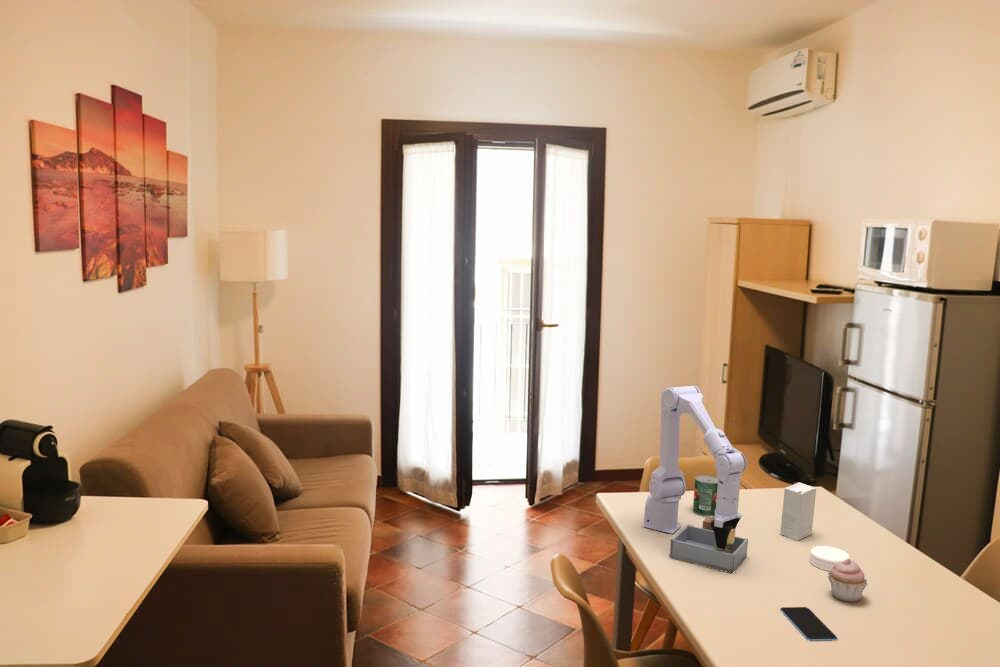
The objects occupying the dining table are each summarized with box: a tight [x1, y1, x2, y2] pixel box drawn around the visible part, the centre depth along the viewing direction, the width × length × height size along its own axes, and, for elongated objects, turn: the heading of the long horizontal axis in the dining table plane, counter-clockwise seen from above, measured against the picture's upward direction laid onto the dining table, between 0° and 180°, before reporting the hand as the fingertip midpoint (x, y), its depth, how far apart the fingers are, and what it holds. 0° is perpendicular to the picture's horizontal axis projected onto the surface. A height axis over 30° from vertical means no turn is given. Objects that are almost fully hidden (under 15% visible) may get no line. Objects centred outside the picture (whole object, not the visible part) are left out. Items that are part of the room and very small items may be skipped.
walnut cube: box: [701, 516, 715, 531], centre depth 233 cm, size 5×5×5 cm
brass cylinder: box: [714, 527, 736, 554], centre depth 216 cm, size 5×5×7 cm
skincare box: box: [780, 481, 817, 542], centre depth 235 cm, size 8×6×15 cm
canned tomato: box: [692, 474, 718, 517], centre depth 252 cm, size 8×8×11 cm
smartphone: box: [779, 606, 839, 642], centre depth 184 cm, size 7×1×15 cm
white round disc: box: [809, 545, 851, 572], centre depth 217 cm, size 10×10×4 cm
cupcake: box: [827, 558, 869, 603], centre depth 197 cm, size 9×9×10 cm
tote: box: [669, 524, 749, 574], centre depth 219 cm, size 17×13×5 cm
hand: (724, 544), depth 216 cm, fingers open, 5 cm apart
